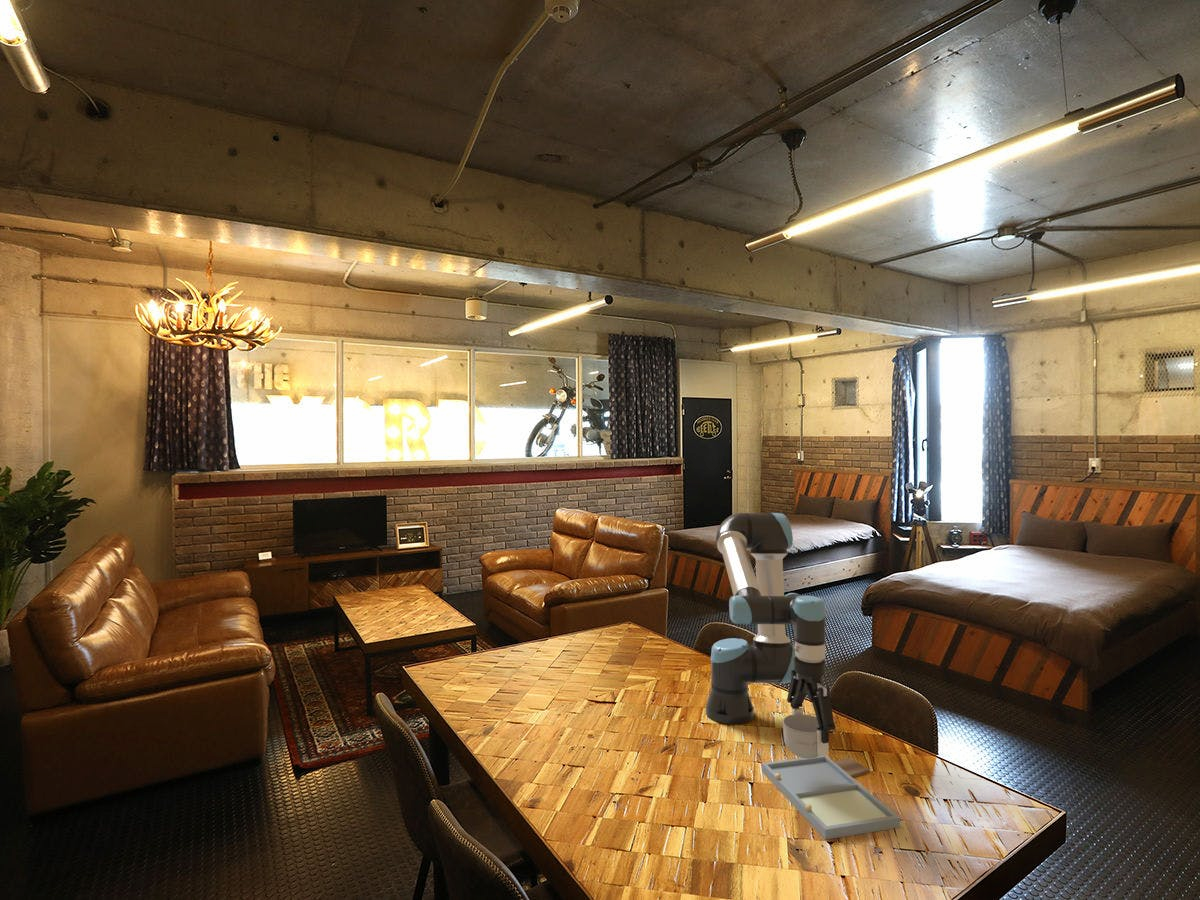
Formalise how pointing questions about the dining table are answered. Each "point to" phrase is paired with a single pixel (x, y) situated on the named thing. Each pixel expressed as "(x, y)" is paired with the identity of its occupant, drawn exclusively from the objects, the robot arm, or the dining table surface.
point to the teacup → (801, 735)
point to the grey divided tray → (829, 797)
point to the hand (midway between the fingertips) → (809, 743)
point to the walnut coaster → (851, 767)
